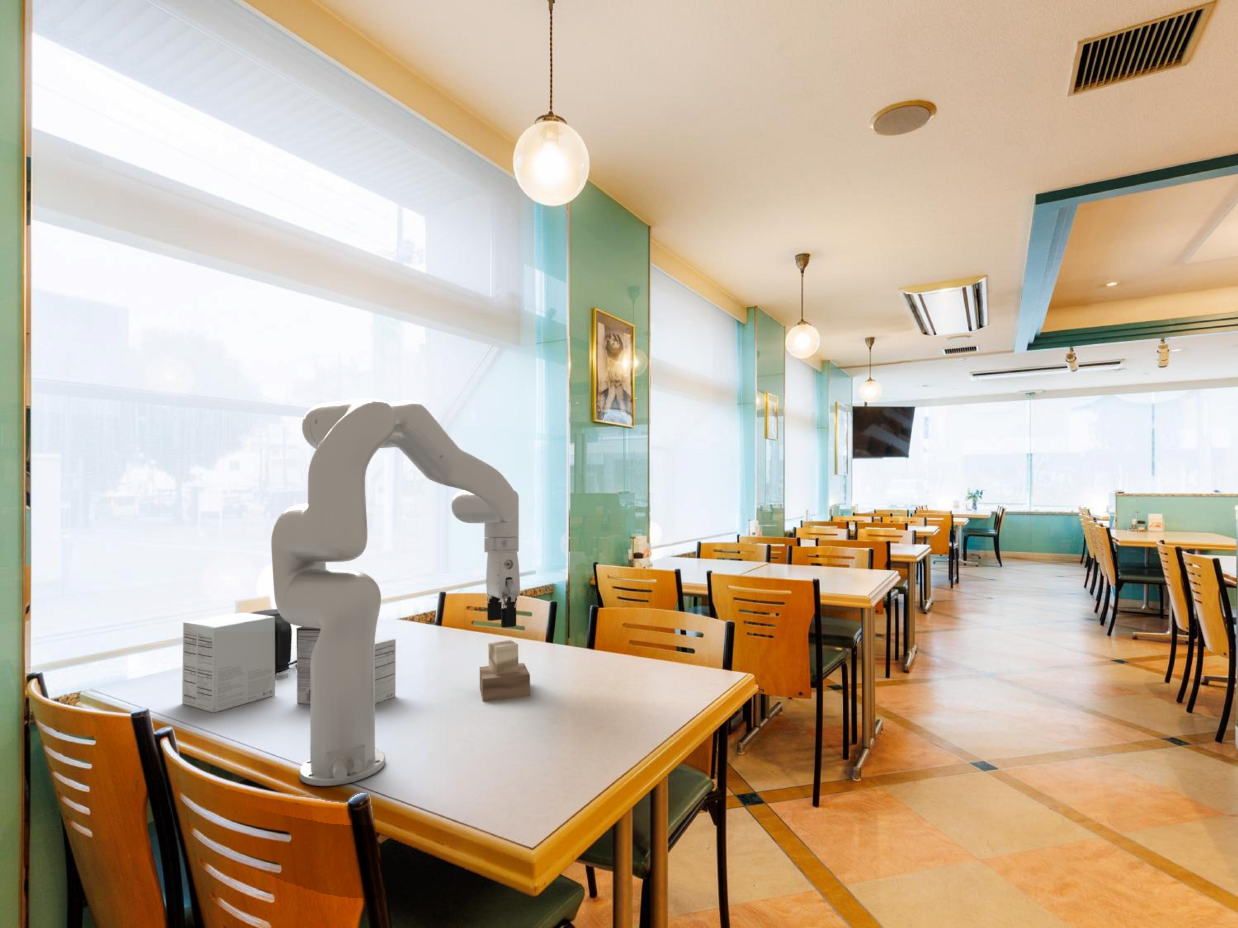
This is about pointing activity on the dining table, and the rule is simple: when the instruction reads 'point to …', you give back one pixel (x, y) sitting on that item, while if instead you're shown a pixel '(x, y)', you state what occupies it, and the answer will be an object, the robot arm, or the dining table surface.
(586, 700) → the dining table surface
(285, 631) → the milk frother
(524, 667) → the walnut block
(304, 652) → the coffee box
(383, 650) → the supplement box
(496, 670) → the maple block
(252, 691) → the supplement box
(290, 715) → the dining table surface
